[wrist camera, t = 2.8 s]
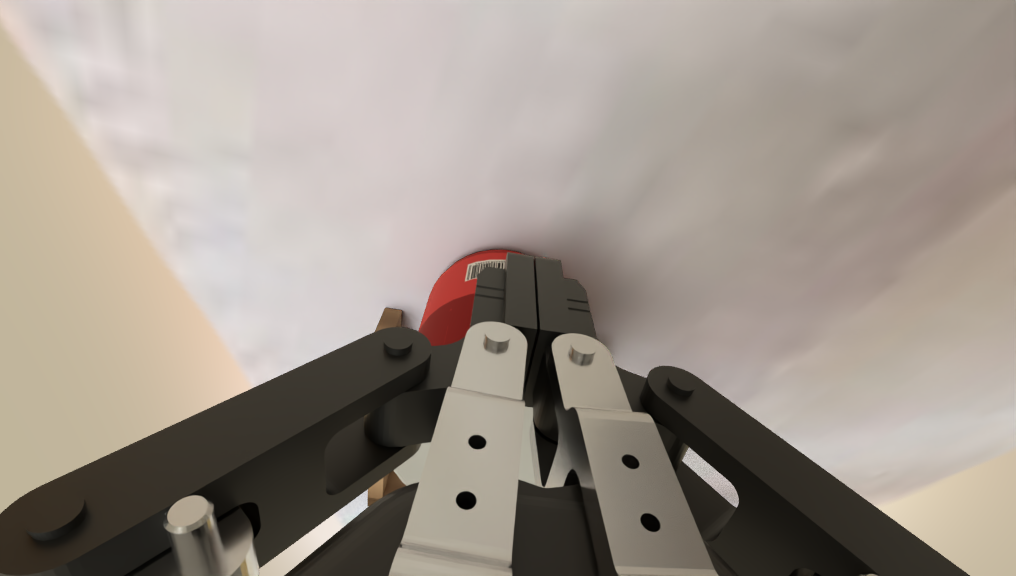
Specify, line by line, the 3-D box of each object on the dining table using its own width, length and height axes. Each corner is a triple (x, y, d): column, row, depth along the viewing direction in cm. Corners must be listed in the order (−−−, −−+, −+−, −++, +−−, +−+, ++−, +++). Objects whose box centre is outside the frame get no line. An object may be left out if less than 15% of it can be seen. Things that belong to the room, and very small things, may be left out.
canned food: (403, 300, 29) (345, 452, 19) (501, 215, 26) (489, 346, 16) (493, 374, 32) (480, 537, 22) (591, 305, 29) (624, 461, 19)
